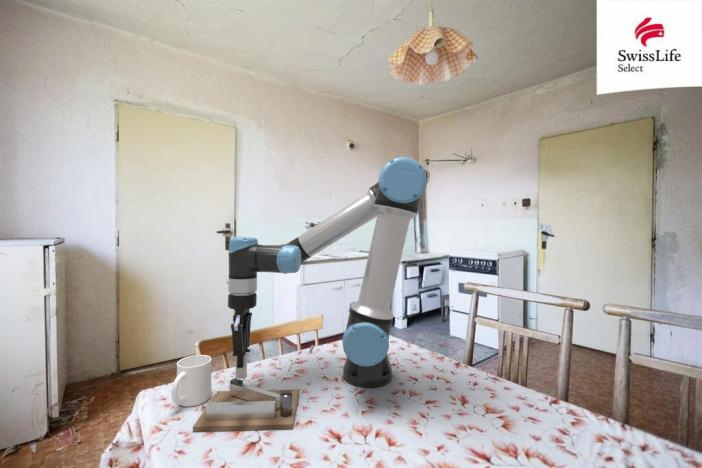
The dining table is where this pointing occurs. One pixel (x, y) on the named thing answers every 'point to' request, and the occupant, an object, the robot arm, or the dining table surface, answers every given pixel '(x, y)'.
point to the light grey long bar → (252, 392)
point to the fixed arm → (249, 409)
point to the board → (246, 424)
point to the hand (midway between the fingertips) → (241, 377)
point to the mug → (192, 381)
